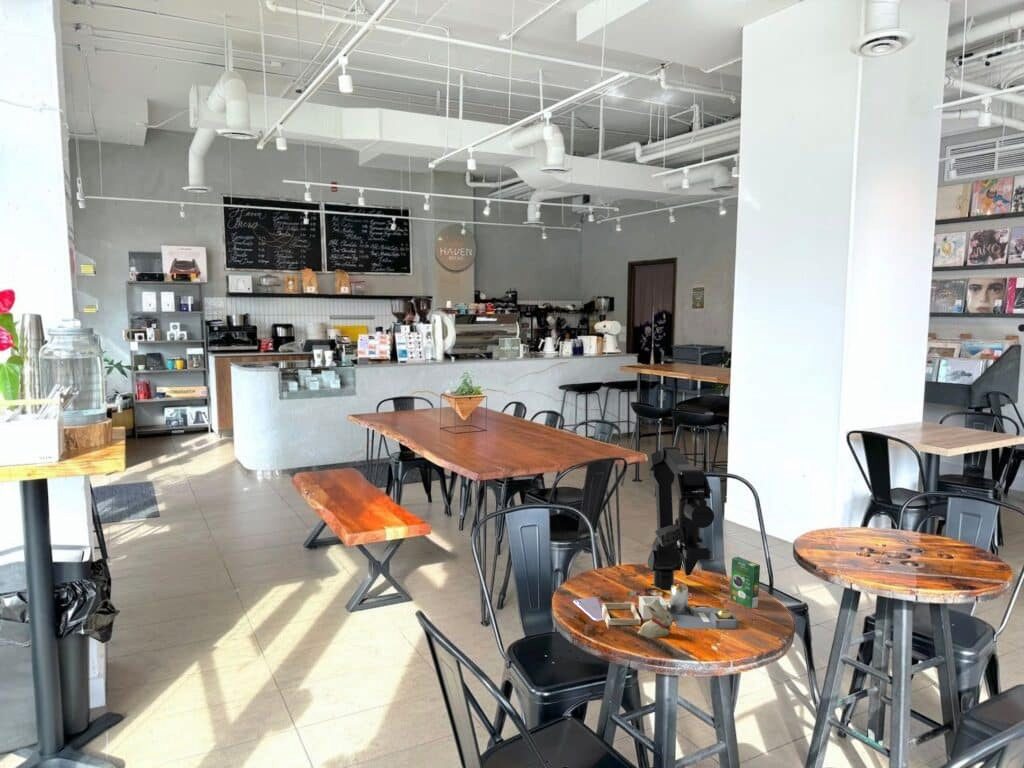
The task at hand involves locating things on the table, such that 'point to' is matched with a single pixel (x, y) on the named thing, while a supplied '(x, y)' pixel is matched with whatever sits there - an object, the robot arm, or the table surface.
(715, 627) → the grey board with socket
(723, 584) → the table surface
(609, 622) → the beige shallow rectangular frame
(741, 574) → the coffee box
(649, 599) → the cup
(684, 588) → the cylinder
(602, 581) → the table surface
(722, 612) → the button
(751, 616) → the table surface
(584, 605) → the mobile phone
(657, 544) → the robot arm
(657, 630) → the chocolate bunny
